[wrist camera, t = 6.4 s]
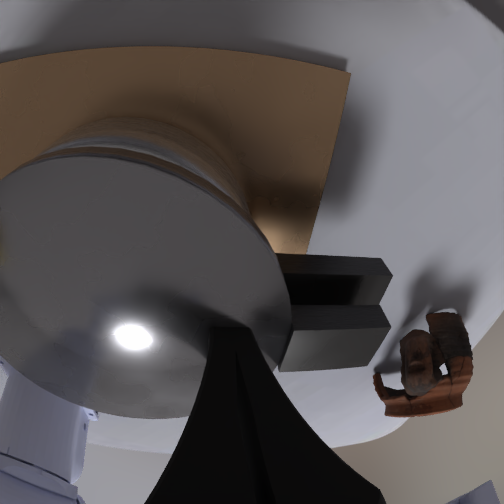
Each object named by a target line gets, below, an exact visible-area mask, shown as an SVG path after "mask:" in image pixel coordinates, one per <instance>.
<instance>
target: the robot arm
mask: <svg viewBox="0 0 504 504" xmlns="http://www.w3.org/2000/svg"><path fill="white" fill-rule="evenodd" d="M0 365H1V367H2V369H3V370H4V372H5V373H6V375H7V376H8V379H7V382H6V385H5V388H4V392H3V395H2V398H1V401H0V504H85V502H84V500H83V499H82V497H80V496H79V495H78V494H77V490H78V487H77V486H74V485H72V484H73V483H74V482H76V481H77V479H78V478H79V477H80V475H81V473H82V470H83V464H84V455H85V447H86V439H87V431H88V424H89V420H92V421H97V420H98V418H99V417H98V415H97V413H96V411H95V410H91V409H88V408H85V407H82V406H79V405H77V404H74V403H71V402H69V401H67V400H64V399H62V398H60V397H58V396H56V395H54V394H52V393H50V392H48V391H46V390H45V389H43V388H41V387H39V386H38V385H36V384H35V383H33V382H32V381H30V380H29V379H27V378H26V377H25V376H23V375H22V374H21V373H20V372H18V371H17V370H16V369H15V368H13V367H12V366H11V365H10V364H9V363H8V362H7V361H6V360H5V359H4V358H3V357H2V356H1V355H0ZM144 504H386V502H385V499H384V497H383V495H382V493H381V491H380V489H378V488H377V487H376V486H374V485H373V484H371V483H370V482H369V481H367V480H366V479H365V478H363V477H362V476H361V475H360V474H358V473H357V472H356V471H354V470H353V469H352V468H351V467H350V466H349V465H347V464H346V463H345V462H344V461H343V460H342V459H341V458H340V457H339V456H338V455H337V454H336V453H335V452H334V451H332V450H331V449H330V448H329V447H328V446H327V445H326V444H325V443H324V442H323V441H322V440H321V438H320V437H319V436H318V435H317V434H316V433H315V432H314V431H313V429H312V428H311V427H310V426H309V425H308V423H307V422H306V421H305V420H304V419H303V417H302V416H301V415H300V413H299V412H298V411H297V409H296V408H295V407H294V405H293V404H292V402H291V401H290V400H289V398H288V397H287V395H286V394H285V392H284V391H283V389H282V387H281V386H280V384H279V383H278V381H277V379H276V378H275V376H274V374H273V372H272V371H271V369H270V367H269V365H268V364H267V362H266V360H265V358H264V356H263V354H262V352H261V350H260V348H259V346H258V343H257V341H256V339H255V337H254V334H253V332H252V329H250V328H249V327H212V328H210V331H209V343H208V355H207V361H206V365H205V369H204V373H203V377H202V381H201V384H200V387H199V390H198V393H197V396H196V399H195V402H194V405H193V408H192V411H191V413H190V416H189V418H188V421H187V423H186V426H185V428H184V431H183V433H182V435H181V437H180V440H179V442H178V444H177V446H176V448H175V450H174V452H173V454H172V457H171V458H170V460H169V462H168V464H167V466H166V468H165V470H164V472H163V473H162V475H161V477H160V479H159V481H158V482H157V484H156V486H155V487H154V489H153V491H152V492H151V494H150V495H149V497H148V499H147V500H146V502H145V503H144ZM446 504H500V502H499V499H498V497H497V494H496V491H495V488H494V486H493V483H492V481H491V480H489V481H487V482H486V483H484V484H482V485H480V486H479V487H477V488H475V489H474V490H472V491H470V492H469V493H466V494H464V495H462V496H460V497H458V498H456V499H454V500H452V501H450V502H448V503H446Z"/></svg>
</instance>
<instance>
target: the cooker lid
mask: <svg viewBox="0 0 504 504" xmlns="http://www.w3.org/2000/svg"><path fill="white" fill-rule="evenodd" d="M212 327H249V328H250V329H252V332H253V334H254V337H255V339H256V341H257V343H258V346H259V348H260V350H261V352H262V354H263V356H264V358H265V360H266V362H267V364H268V365H269V367H270V369H271V371H272V372H273V371H274V369H275V368H276V366H277V365H278V370H279V372H295V371H314V370H328V369H341V368H352V367H362V366H367V365H368V364H369V362H370V361H371V359H372V358H373V356H374V355H375V353H376V351H377V350H378V348H379V347H380V345H381V343H382V342H383V340H384V339H385V337H386V335H387V334H388V332H389V330H390V329H391V325H390V323H389V321H388V320H387V318H386V316H385V314H384V312H383V310H382V308H381V306H380V305H291V304H290V297H289V293H288V290H287V286H286V283H285V280H284V276H283V273H282V270H281V267H280V264H279V261H278V259H277V256H276V254H275V252H274V251H273V249H272V247H271V245H270V243H269V241H268V239H267V238H266V236H265V235H264V233H263V232H262V231H261V230H260V228H259V227H258V226H257V224H256V223H255V222H254V220H253V219H252V218H251V217H250V216H249V215H248V214H247V213H246V212H245V211H244V210H243V209H242V208H241V207H240V206H239V205H238V204H237V203H236V202H235V201H234V200H233V199H232V198H231V197H229V196H228V195H227V194H225V193H224V192H222V191H221V190H220V189H218V188H217V187H216V186H214V185H213V184H211V183H210V182H209V181H207V180H205V179H204V178H202V177H200V176H198V175H196V174H194V173H193V172H191V171H189V170H187V169H185V168H183V167H181V166H179V165H177V164H174V163H171V162H169V161H166V160H163V159H161V158H158V157H155V156H153V155H149V154H145V153H141V152H136V151H132V150H127V149H122V148H112V147H97V146H88V147H77V148H66V149H62V150H58V151H54V152H50V153H47V154H43V155H40V156H38V157H36V158H34V159H32V160H30V161H27V162H25V163H23V164H21V165H20V166H18V167H17V168H16V169H14V170H13V171H11V172H10V173H9V174H7V175H6V176H5V177H3V178H2V179H1V180H0V355H1V356H2V357H3V358H4V359H5V360H6V361H7V362H8V363H9V364H10V365H11V366H12V367H13V368H15V369H16V370H17V371H18V372H20V373H21V374H22V375H23V376H25V377H26V378H27V379H29V380H30V381H32V382H33V383H35V384H36V385H38V386H39V387H41V388H43V389H45V390H46V391H48V392H50V393H52V394H54V395H56V396H58V397H60V398H62V399H64V400H67V401H69V402H71V403H74V404H77V405H79V406H82V407H85V408H88V409H91V410H95V411H98V412H102V413H107V414H111V415H116V416H123V417H130V418H143V419H167V418H179V417H186V416H190V413H191V411H192V408H193V405H194V402H195V399H196V396H197V393H198V390H199V387H200V384H201V381H202V377H203V373H204V369H205V365H206V361H207V355H208V343H209V331H210V328H212Z"/></svg>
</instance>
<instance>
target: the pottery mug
mask: <svg viewBox="0 0 504 504" xmlns="http://www.w3.org/2000/svg"><path fill="white" fill-rule="evenodd" d="M426 320H427V323H428V325H429V332H430V334H429V333H428V332H426V331H424V330H417V329H415V330H412V331H411V332H409V333H408V334H407V335H406V336H404V337H403V338H402V339H401V340H400V354H401V360H402V366H401V375H402V377H401V382H402V384H403V386H404V388H405V389H402V390H396V389H392V388H389V387H385V386H384V385H383V382H382V378H381V375H380V374H379V373H376V374H374V375H373V379H374V382H373V384H374V386H375V391H376V392H377V394H378V396H379V397H380V399H381V400H382V401H383V402H384V403H385V405H386V409H385V416H391V417H415V416H427V415H434V414H438V413H443V412H448V411H450V410H454V409H456V408H458V407H461V406H462V405H463V403H462V393H463V392H464V391H465V389H466V388H467V386H468V384H469V382H470V379H471V377H472V375H473V372H472V370H473V364H472V360H473V357H472V355H473V354H472V351H471V345H470V343H469V337H468V332H467V331H466V328H465V326H464V324H463V322H462V317H461V316H460V315H458V314H455V313H449V312H441V313H433V314H428V315H426ZM444 363H445V365H446V368H447V371H448V374H446V375H442V372H441V370H440V369H439V367H440V366H441V365H442V364H444Z"/></svg>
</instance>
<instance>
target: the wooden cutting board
mask: <svg viewBox="0 0 504 504" xmlns="http://www.w3.org/2000/svg"><path fill="white" fill-rule="evenodd" d="M350 76H351V73H348V72H345V71H341V70H337V69H333V68H329V67H325V66H320V65H316V64H311V63H307V62H302V61H297V60H291V59H286V58H280V57H275V56H268V55H262V54H255V53H247V52H239V51H231V50H221V49H209V48H194V47H171V46H132V47H109V48H95V49H84V50H74V51H66V52H59V53H52V54H45V55H39V56H33V57H28V58H23V59H18V60H13V61H9V62H4V63H0V180H1V179H2V178H3V177H5V176H6V175H7V174H9V173H10V172H11V171H13V170H14V169H16V168H17V167H18V166H20V165H21V164H23V163H25V162H27V161H30V160H32V159H34V158H36V157H38V156H40V155H43V154H47V153H50V152H54V151H58V150H62V149H66V148H77V147H88V146H97V147H112V148H122V149H127V150H132V151H136V152H141V153H145V154H149V155H153V156H155V157H158V158H161V159H163V160H166V161H169V162H171V163H174V164H177V165H179V166H181V167H183V168H185V169H187V170H189V171H191V172H193V173H194V174H196V175H198V176H200V177H202V178H204V179H205V180H207V181H209V182H210V183H211V184H213V185H214V186H216V187H217V188H218V189H220V190H221V191H222V192H224V193H225V194H227V195H228V196H229V197H231V198H232V199H233V200H234V201H235V202H236V203H237V204H238V205H239V206H240V207H241V208H242V209H243V210H244V211H245V212H246V213H247V214H248V215H249V216H250V217H251V218H252V219H253V220H254V222H255V223H256V224H257V226H258V227H259V228H260V230H261V231H262V232H263V233H264V235H265V236H266V238H267V239H268V241H269V243H270V245H271V247H272V249H273V251H274V252H275V254H276V256H277V259H278V261H279V264H280V267H281V270H282V273H283V276H284V280H285V283H286V286H287V290H288V293H289V297H290V304H291V305H379V303H380V301H381V299H382V297H383V295H384V293H385V291H386V289H387V287H388V285H389V283H390V281H391V279H392V277H393V275H392V274H391V272H390V271H389V269H388V268H387V266H386V265H385V263H384V262H383V260H382V259H381V258H368V257H348V256H328V255H308V254H306V252H307V248H308V245H309V241H310V238H311V234H312V230H313V227H314V223H315V220H316V216H317V212H318V208H319V205H320V201H321V197H322V193H323V190H324V186H325V182H326V178H327V174H328V170H329V166H330V162H331V158H332V154H333V150H334V146H335V142H336V138H337V134H338V129H339V125H340V121H341V116H342V112H343V108H344V103H345V99H346V94H347V90H348V85H349V80H350Z"/></svg>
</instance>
